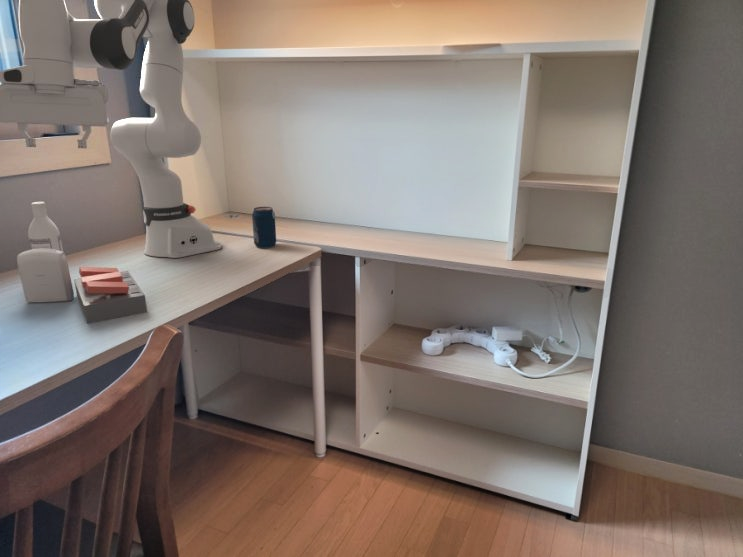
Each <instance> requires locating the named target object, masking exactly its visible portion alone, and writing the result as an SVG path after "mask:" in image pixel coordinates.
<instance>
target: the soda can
mask: <svg viewBox="0 0 743 557" xmlns="http://www.w3.org/2000/svg"><path fill="white" fill-rule="evenodd" d="M275 214H276V213H275V210H273V207H271V206H257V207H254V208H253V212H252V214H251V218H252V232H253V243H254V245H255V246H256V248H259V249H271V248H274V247H275V245H276V244H277V232H276V231H277V230H276V215H275Z"/></svg>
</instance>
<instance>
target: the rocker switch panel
mask: <svg viewBox="0 0 743 557" xmlns="http://www.w3.org/2000/svg"><path fill="white" fill-rule="evenodd" d="M119 272H120V274H121V275H122V280H123V282H126V283H127V285H128V286H129V292H128V293H88V292H87V290H86V288H84V287H83V285H82V282H81V277H78V278H77V277H76V278H73V281H74V287H75V292H76V296H77V299H78V303H79V304H80V307H81V310H82V313H83V316H84V319H85V321H86V324H92V323H96V322H102V321H106V320H107V321H108V320H112V319H117V318H123V317H128V316H133V315H138V314H139V315H140V314H144V313H148V308H147V302H146V301H147V300H146V295H145V293H144V292H143V290H142V289H141V288H140V286H139V284H138V282H137V281H136V280H135V279H134V277H133V276H132V274H131V273H130V272H129V270H124V271H119Z"/></svg>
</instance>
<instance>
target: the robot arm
mask: <svg viewBox="0 0 743 557" xmlns="http://www.w3.org/2000/svg"><path fill="white" fill-rule="evenodd" d="M93 3H94V7H95V10H96V12H97V15H98V16H99V17H100V19H98V18H96V19H95V18H94V19H93V18H88V19H87V18H85V19H84V18H82V19H81V18H80V19H78V18H76V17H74V16H73V15H72V14H71V13H70V12H69V10H68V9H67V5H66V2H65V0H19V1H18V26H19V36H20V39H21V41H22V44H23V54H22V62H23V63H22V64H23V65H20V66H16V67H12V68H8V69H4V70H0V83H1V84H0V123H2V124H16V125H17V130H18V132H20V134H21V135H22V136H23V138H24V139H25V146H26V147H27V148H37V143H36V141H37V140H36V138H35V137H31V136H30V135H29V133H28V132H27V131H26V130H29V126H28V125H48V126H49V125H52V126H74V127H75V126H79V127H81V128H82V131H83V132H85V133H84V134H83V136H82V139H77V140H76V141H77V149H87V148H88V145H87V140H88V138H90V135H91V133H92V127H101V128H105V127H107V126H108V124H109V123H110V122H109V121H110V120H109V113H108V108H107V105H106V103H107V102H108V100H109V93H108V88H107V86H105V84H103V83H101V82H99V80H93V79H92V80H87V79H77V78H76V77H75V76H76V75H75V68H84V69H108V70H118V71H120V70H121V71H123V70H125V69H128V67H130V65H131V64H132V63H133V62H134V60H135V57H136V54H137V50H138V49H137V47H138V46H139V44H140V43H141V41H142V38H147V44H146V47H145V51H144V53H143V60H142V65H141V75H140V77H141V78H140V83H139V84H140V85H139V92H140V93H139V94H140V96H141V99H142V100H143V101H144V103H146V104H147V105H149V106H150V107H152V108H154V110H155V111H154V112H155V113H154V117H128V118H123V119H120V120H117V121H115V122H114V123H113V125H112V127H111V129H110V132H109V136H110V141H111V144H112V146H113V148H114V149H115V151H116V152H118V154H120V155H122V156H123V157H124V158H125V159H126V160H127V161H128V162H129V163H130V164H131V166H132V168H133V169H134V171H135V173H136V175H137V177H138V180H139V184H140V189H141V193H142V200H143V205H142V216H143V222H144V225H145V235H146V236H145V246H144V251H143V253H144V254H145V255H146V256H151V257H159V258H171V259H180V258H184V257H188V256H193V255H198V254H202V253H203V254H204V253H207V252H212V251H216V250H217V251H218V250H221V249H222V246H223V245H222V241H220V240H218V239H217V238H215V237H214V234H213V232H212V230H211V227H209V225H208V224H206V223H205V222H203V221H201V220H200V219H199V218H197V217H196V216H193V215H192V214H194V213H195V212H196V210H197V209H196V207H195V206H193V205H189V204H187V203H185V202H184V196H183V187H182V180H181V178H180V176H179V175H178V174H177V173H176V172H174V171H172V170H171V169H169V167H167V165H165V163H164V162H163V160H162V159H163V158H164V159H165V158H168V159H171V158H174V159H180V158H186V157H190V156H194V155H195V154H196V153H197V152H199V149H200V147H201V144H202V135H201V132H200V130H199V128H198V127H197V125H196V124H195V123H194V122H193V120H191V119H190V118H189V117H188V116H187V114H186V112H185V110H184V107H183V103H182V102H183V101H182V98H183V97H182V93H183V92H182V90H183V80H184V79H183V78H184V52H183V46H182V44H184V43H185V42H186V41H187V38H188V37H189V36H190V35H191V33H192V32H193V30H194V27H195V13H194V8H193V6H192V3H191V2H190V1H189V0H93Z"/></svg>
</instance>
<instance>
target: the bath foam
mask: <svg viewBox="0 0 743 557" xmlns="http://www.w3.org/2000/svg"><path fill="white" fill-rule="evenodd" d="M30 206H31V210H32V215H33V218H32V221H31V223H30V224H29V227H28V229H27V230H28V231H27V237H28V238H27V239H28V242H29V243H28V244H29V248H30V250H32V249H42V248H44V249H54V250H59V251H62V252H64V249H63V244H62V237H61V233H60V230H59V228H58V226H57V225H56V223H54V221H53V220H51V218H49V217H48V214H47V213H48V212H47V207H46V202H45V201H34V202H32V203H31V204H30Z"/></svg>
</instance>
